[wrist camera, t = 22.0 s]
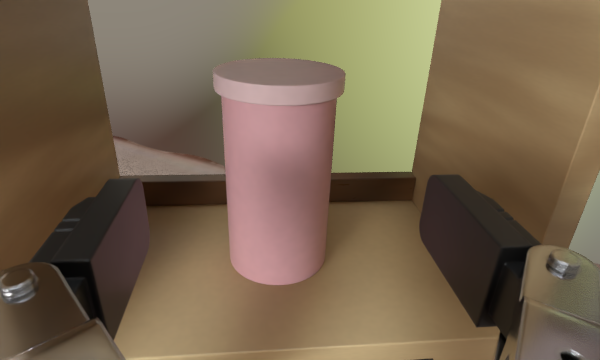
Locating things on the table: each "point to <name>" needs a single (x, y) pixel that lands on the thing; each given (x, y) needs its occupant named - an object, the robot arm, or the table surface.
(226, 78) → the lidded canister
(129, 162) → the table surface
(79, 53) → the shelf
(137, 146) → the table surface
